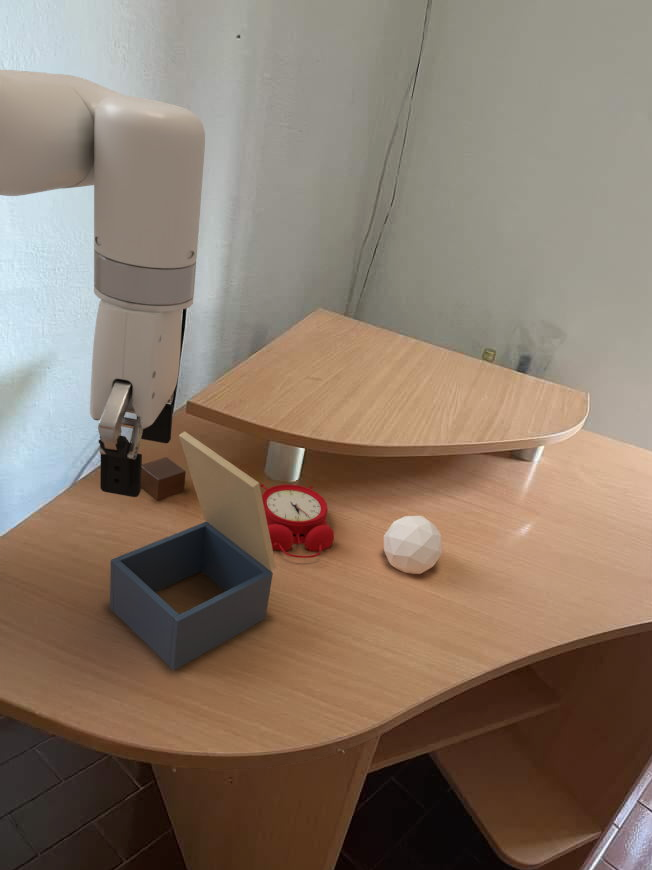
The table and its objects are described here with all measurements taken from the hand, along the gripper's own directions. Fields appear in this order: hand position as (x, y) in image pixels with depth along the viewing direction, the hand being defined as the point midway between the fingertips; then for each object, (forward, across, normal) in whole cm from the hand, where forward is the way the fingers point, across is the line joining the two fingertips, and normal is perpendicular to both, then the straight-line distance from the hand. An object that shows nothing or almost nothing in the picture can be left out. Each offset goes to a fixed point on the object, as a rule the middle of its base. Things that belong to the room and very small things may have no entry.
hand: (138, 464), depth 63 cm
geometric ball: (+22, -20, +30) cm, 43 cm away
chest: (+21, -4, +5) cm, 22 cm away
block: (+21, -27, -4) cm, 35 cm away
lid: (+7, -7, +7) cm, 12 cm away
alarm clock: (+22, -23, +15) cm, 35 cm away
